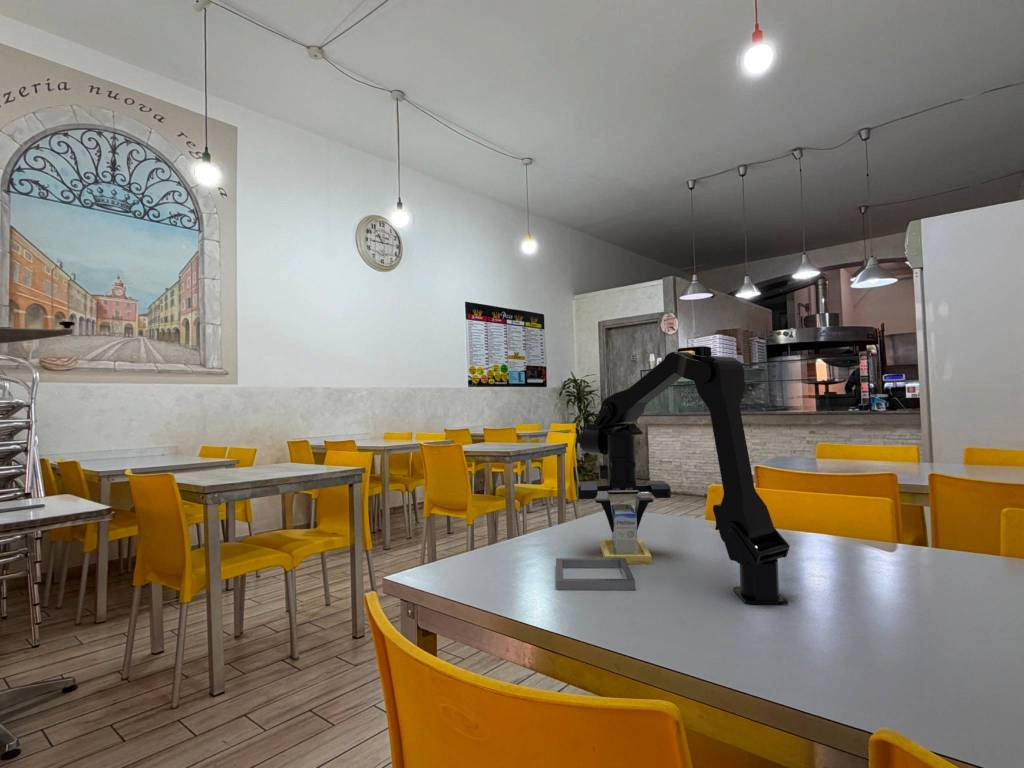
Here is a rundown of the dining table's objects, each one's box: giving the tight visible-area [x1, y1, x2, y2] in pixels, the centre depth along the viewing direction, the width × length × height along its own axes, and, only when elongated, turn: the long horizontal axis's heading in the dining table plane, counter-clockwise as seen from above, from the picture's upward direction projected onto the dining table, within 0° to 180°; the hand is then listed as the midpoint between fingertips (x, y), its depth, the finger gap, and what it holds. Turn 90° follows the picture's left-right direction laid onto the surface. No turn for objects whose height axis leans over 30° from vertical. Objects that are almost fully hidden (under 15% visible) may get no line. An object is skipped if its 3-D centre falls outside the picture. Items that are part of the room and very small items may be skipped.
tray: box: [599, 538, 653, 565], centre depth 114 cm, size 13×9×2 cm
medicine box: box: [611, 503, 638, 555], centre depth 114 cm, size 8×4×9 cm, turn 175°
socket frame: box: [555, 557, 636, 591], centre depth 100 cm, size 13×13×2 cm
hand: (624, 531), depth 114 cm, fingers closed on medicine box, 4 cm apart
